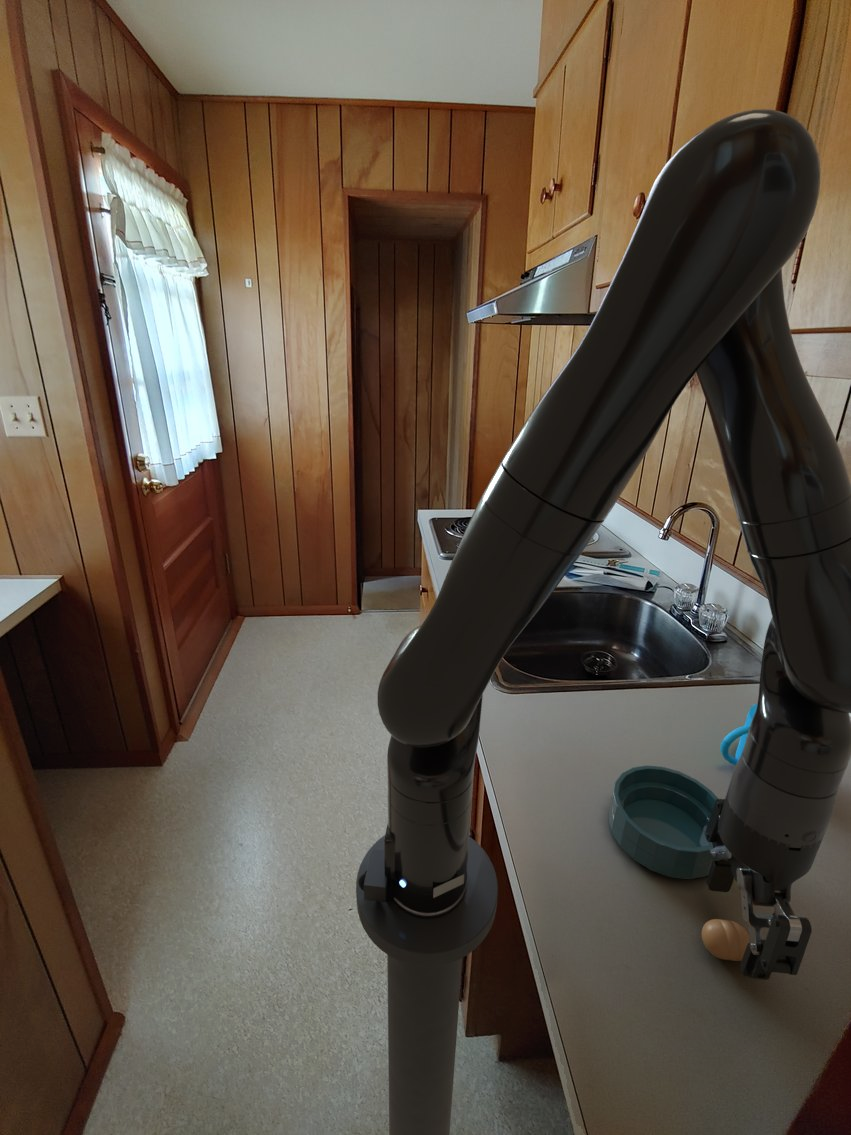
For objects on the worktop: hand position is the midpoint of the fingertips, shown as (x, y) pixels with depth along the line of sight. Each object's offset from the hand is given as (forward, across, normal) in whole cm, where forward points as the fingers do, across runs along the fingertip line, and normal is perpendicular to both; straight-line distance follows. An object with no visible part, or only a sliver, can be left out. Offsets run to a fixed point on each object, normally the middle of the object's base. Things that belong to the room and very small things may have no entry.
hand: (733, 928), depth 55 cm
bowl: (+3, -14, -2) cm, 15 cm away
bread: (+4, 0, 0) cm, 4 cm away
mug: (+4, -28, +15) cm, 32 cm away
